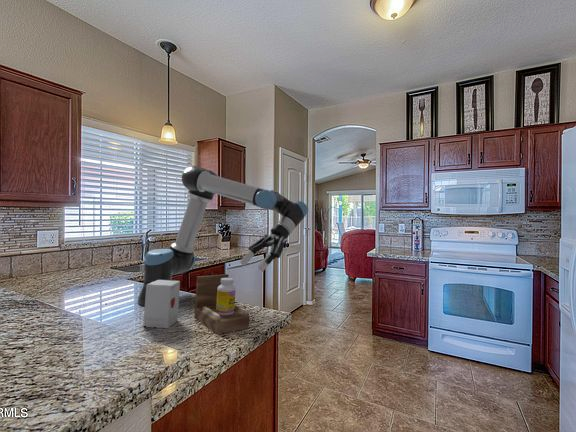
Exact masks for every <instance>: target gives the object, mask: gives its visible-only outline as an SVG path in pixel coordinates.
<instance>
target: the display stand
mask: <svg viewBox="0 0 576 432" xmlns="http://www.w3.org/2000/svg"><path fill="white" fill-rule="evenodd" d="M221 278H229V274H227V273H226V274H225V273H224V274H214V275H213V274H212V275H201V276H200V275H199V276H198V275H197V276H196V284H195V285H196V288H195V301H194V302H195V303H194V316H193V318H194V319H196V320H198V322H200V323H201V324H202V325H204V326H205V327H206V328H208V329H209V330H210V331H211V332H212V333H215V334H216V335H219V334H223V333H227V332H232V331H233V332H234V331H237V330H241V329H247V328H250V320H251V318H250V315H249V310H248V309H247V308H246V309H245V308H244V307H242V306H241V305H238V304H236V303H235V305H234V313H233V314H232V315H228V316H222V315H219V314H217V313H216V304H217V289H218V286H219V285H221Z"/></svg>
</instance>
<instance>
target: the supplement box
mask: <svg viewBox="0 0 576 432" xmlns="http://www.w3.org/2000/svg"><path fill="white" fill-rule="evenodd" d="M180 286H181V281H180V280H172V281H170V280H157V281H154V282H151V283H149V284H147V285H146V297H145V306H144V312H143V326H146V327H145V328H154V327H156V328H155V329H169V328H170V327H172V325H174V324H176V322H177V321H178V318H179V317H178V316H179V305H180V304H179V303H180V291H181V290H180ZM143 326H142V327H143Z"/></svg>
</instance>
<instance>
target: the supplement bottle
mask: <svg viewBox="0 0 576 432" xmlns="http://www.w3.org/2000/svg"><path fill="white" fill-rule="evenodd" d="M233 283H234V278H232V277H228V278H221V285H219V286H218V289H217V304H216V313H217V314H219V315H222V316H228V315H232V314H233V313H234V305H235V304H236V302H235V301H236V291H237V289H236V286H235V285H234V284H233Z"/></svg>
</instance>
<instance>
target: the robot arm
mask: <svg viewBox="0 0 576 432" xmlns="http://www.w3.org/2000/svg"><path fill="white" fill-rule="evenodd" d="M181 182H182V185H183V187H184V188H186V189H187V190H188V194H189V196H190V197H189V201H188V204H187V206H186V209H185V213H184V215H183V218H182V221H181V225H180V226H179V229H178V233H177V236H176V240H175V242H173V243H171V244H170V247H169V248H160V249H159V248H157V249H156V248H155V249H151V250H149V251H147V252H146V253H145V257H144V258H145V259H144V265H143V266H144V267H143V268H144V269H143V283H142V287H141V289H140V292H139V294H138V296H137V297H138V298H137V304H138V305H140V306H142V307H143V306H144V307H145V297H146V285H147V284H149V283H151V282H154V281H157V280H170V281H173V280H172V279H173V277H172V276H175V275H179V274H185V273H187V272H189V271H190V270H192V268H193V267H194V265H195V263H196V257H195V254H194V253H195V249H194V243H195V241H196V239H197V236H198V233H199V229H200V226H201V224H202V220H203V218H204V215H205V212H206V209H207V206H208V203H209V202H211V201H213V198H214V196H215V195H218V196H221V197H224V198H225V197H226V198H228V199H232V200H235V201H237V202H238V201H239V202H242V203H244V204H249V205H251V206H255V207H258V208H260V209H262V210H263V209H264V210H268V211H269V210H270V211H275V212H276V213H277V214H280V216H282V217H280V219H279V220H278V221H277V222H276V224H275V225H274V226H273V227H272V228H271V229H270V235H267V233H266V234H264V235H263V236H262V237H261V238H259V239H258V240H257V241H255V242H254V243H252V244H251V245H250V246H249V247H248V252H247V253H246V254H245V255H244V256H243V257H242V258H241V260H240V261H239V263H240V264H241V265H242V266H244V267H245V266H246V265H248V263H249V262H250V261H251V259H253V257H254V256H255V255H256V253H258V252H260V251H261V250H263V249H265V248H268V247H271V248H270V252H269V253H268V254H267V255H266V256H265V257H264V259H262V261H261V262H260V263H259V265H258V266H257V268H258V269H259V270H260V271H261V272H264V271H265V270H266V269H267V268H268V266H269V265H270V264H271V263H272V262H273V260H275V259H280V258H281V255H282V252H283V249H284V247H285V245H286V243H287V242H288V240H287V238H288V237H289V236H290V235H291V234H292V233H293V231H294V230H295V229H296V228H297V227H298V225H299V224H300V223H301V222H302V221H303V220H304V218H305V217H306V216H307V214H308V213H309V207H308V205H307V204H306V203H304V202H303V201H301V200H295V202H293V201H291V200H289V199H288V198H287V197H285V196H283V195H282V194H281V193H279V192H277V191H275V190H273V189H272V190H268V189H263V188H260V187H258V186H257V187H256V186H254V185H253V186H252V185H249V184H246V183H243V182H239V181H236V180H232V179H228V178H224V177H222V176H219V175H218V173H216V172H214V171H212V170H209V169H206V168H203V167H200V166H197V165H196V166H195V165H190V166H189V167H187V168H185V169H184V170H183V172H182V173H181Z"/></svg>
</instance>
